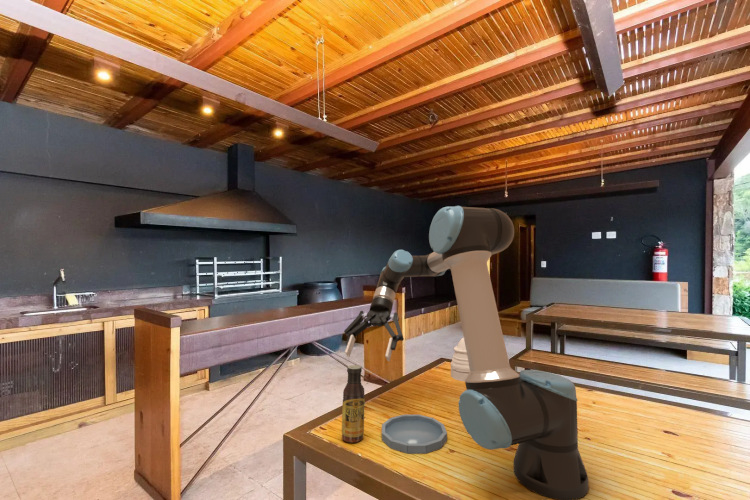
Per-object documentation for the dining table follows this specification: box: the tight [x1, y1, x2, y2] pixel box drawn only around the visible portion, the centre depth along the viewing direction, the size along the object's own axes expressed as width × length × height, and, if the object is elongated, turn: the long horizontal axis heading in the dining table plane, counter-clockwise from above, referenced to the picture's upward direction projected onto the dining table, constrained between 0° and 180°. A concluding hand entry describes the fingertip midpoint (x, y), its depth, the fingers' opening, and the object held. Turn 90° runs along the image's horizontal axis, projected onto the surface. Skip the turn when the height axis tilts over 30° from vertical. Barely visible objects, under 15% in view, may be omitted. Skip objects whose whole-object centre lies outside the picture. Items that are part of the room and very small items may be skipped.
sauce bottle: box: [341, 364, 366, 444], centre depth 97 cm, size 6×6×20 cm
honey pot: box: [450, 336, 470, 382], centre depth 147 cm, size 13×13×18 cm
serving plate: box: [381, 414, 448, 455], centre depth 98 cm, size 18×18×2 cm
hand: (366, 356), depth 108 cm, fingers open, 13 cm apart
